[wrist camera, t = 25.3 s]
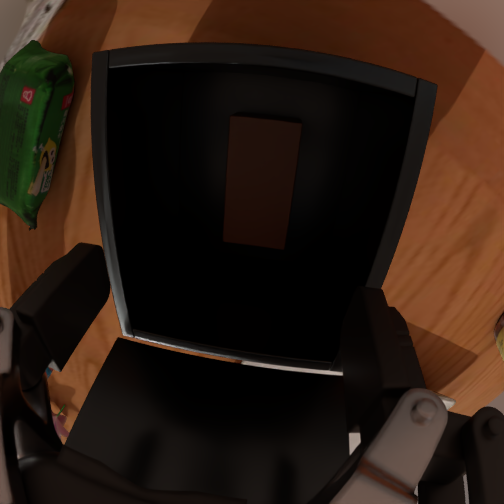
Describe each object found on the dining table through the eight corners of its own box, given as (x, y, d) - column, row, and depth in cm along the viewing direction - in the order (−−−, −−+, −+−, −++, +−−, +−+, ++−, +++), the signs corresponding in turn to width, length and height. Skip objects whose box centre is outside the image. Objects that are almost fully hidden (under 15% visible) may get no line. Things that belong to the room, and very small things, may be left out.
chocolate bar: (237, 111, 18) (229, 115, 15) (301, 118, 17) (303, 123, 15) (229, 225, 22) (222, 242, 20) (285, 232, 22) (284, 250, 19)
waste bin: (177, 60, 17) (91, 52, 8) (370, 82, 16) (438, 84, 8) (174, 249, 24) (122, 335, 16) (329, 272, 24) (342, 372, 15)
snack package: (10, 189, 23) (-24, 211, 19) (42, 38, 15) (-2, 40, 11) (55, 219, 24) (22, 247, 20) (99, 55, 17) (54, 56, 12)
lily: (32, 378, 47) (15, 410, 42) (56, 407, 42) (36, 443, 37) (68, 397, 56) (52, 426, 51) (95, 424, 50) (77, 455, 45)
